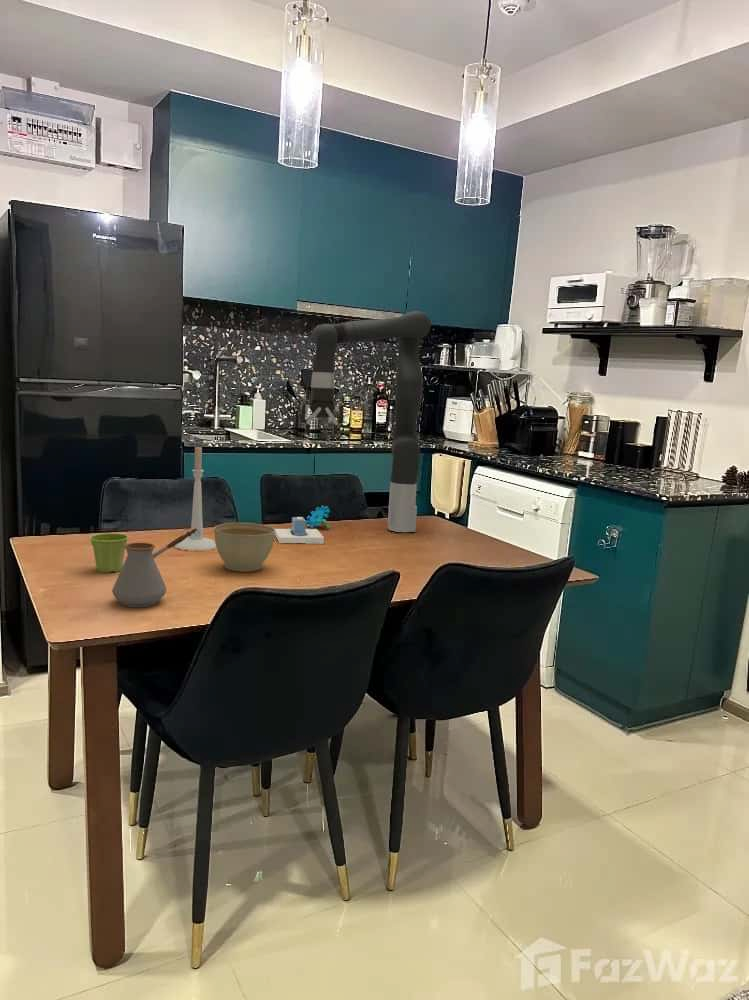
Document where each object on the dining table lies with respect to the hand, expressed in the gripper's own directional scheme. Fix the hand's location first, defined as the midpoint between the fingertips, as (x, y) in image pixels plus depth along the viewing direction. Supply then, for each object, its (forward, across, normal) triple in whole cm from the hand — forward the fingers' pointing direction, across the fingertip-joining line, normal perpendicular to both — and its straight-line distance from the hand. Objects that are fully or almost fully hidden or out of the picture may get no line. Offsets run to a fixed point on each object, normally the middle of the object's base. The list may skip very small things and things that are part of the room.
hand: (321, 436), depth 243 cm
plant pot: (+32, +63, +47) cm, 85 cm away
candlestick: (+32, +40, +21) cm, 56 cm away
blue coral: (+33, -1, -8) cm, 34 cm away
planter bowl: (+32, +29, +46) cm, 63 cm away
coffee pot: (+32, +50, +72) cm, 93 cm away
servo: (+32, +8, +10) cm, 35 cm away
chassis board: (+32, +8, +11) cm, 35 cm away
